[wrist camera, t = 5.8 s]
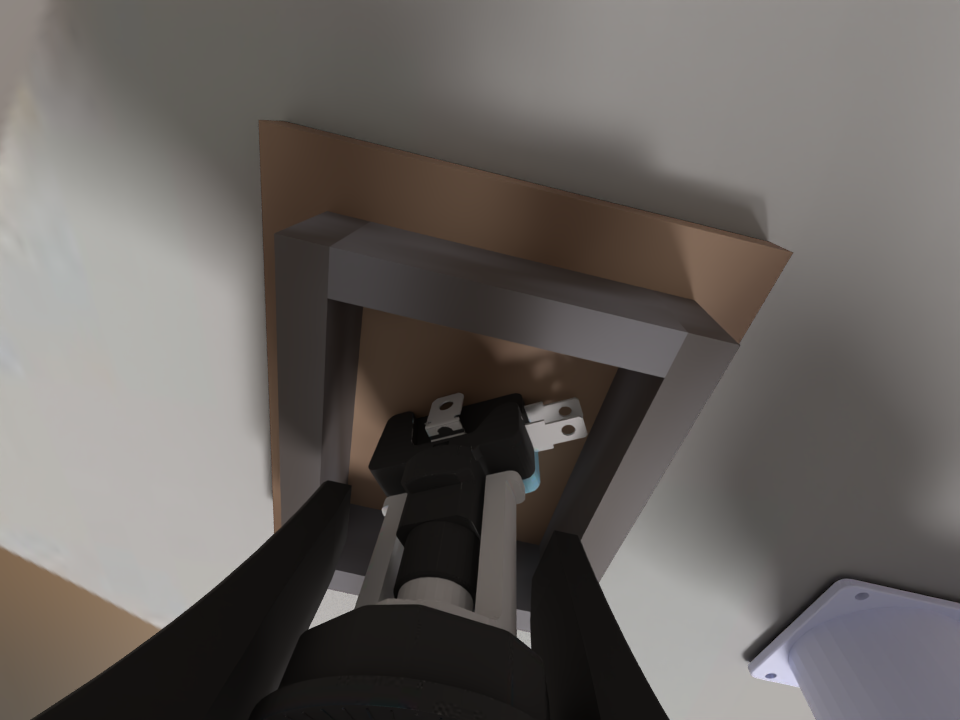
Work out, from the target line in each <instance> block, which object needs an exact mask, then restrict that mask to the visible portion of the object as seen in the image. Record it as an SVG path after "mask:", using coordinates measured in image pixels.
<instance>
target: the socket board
mask: <svg viewBox="0 0 960 720" xmlns="http://www.w3.org/2000/svg"><path fill="white" fill-rule="evenodd" d="M259 144H260V170H261V197H262V223H263V250H264V276H265V303H266V329H267V356H268V382H269V409H270V435H271V461H272V488H273V514H274V534H275V533H276V532H277V531H278V530H279V529H280V528H281V527H282V526H283V525H284V524H285V523H286V522H287V521H288V520H289V519H290V518H291V517H292V516H293V515H294V514H295V513H296V512H297V511H298V510H299V509H300V508H301V506H302V505H303V504H304V503H305V502H306V501H307V500H308V499H309V498H310V497H311V496H312V495H313V493H314V492H315V491H316V490H317V489H318V488H319V487H320V486H321V484H322V483H323V482H325V481H327V480H330V481H334V482H339V483H343V484H348V485H352V489H351V500H350V511H349V522H348V532H347V540H346V542H345V545H344V548H343V551H342V553H341V556H340V559H339V562H338V564H337V567H336V570H335V572H334V575H333V578H332V580H331V582H330V585H329V587H328V589H331V590H335V591H340V592H345V593H349V594H354V595H359V593H360V590H361V587H362V584H363V581H364V578H365V575H366V572H367V569H368V566H369V563H370V560H371V557H372V554H373V551H374V548H375V545H376V542H377V539H378V536H379V533H380V530H381V527H382V524H383V521H384V518H385V516H384V515H383V513H382V507H383V504H384V502H385V499H386V498H387V496H386V495H385V493H384V492H383V490H382V489H381V487H380V485H379V484H378V482H377V481H376V479H375V478H374V476H373V475H372V473H371V472H370V470H369V468H368V465H369V463H370V460H371V458H372V456H373V453H374V451H375V449H376V446H377V444H378V442H379V439H380V437H381V435H382V432H383V430H384V428H385V425H386V423H387V421H388V420H389V419H390V418H391V417H392V416H394V415H397V414H400V413H404V412H408V411H410V412H413V413H414V415H415V417H416V419H417V418H421V417H425V416H429V413H430V409H431V406H432V403H433V402H434V401H435V400H436V399H438V398H441V397H445V396H449V395H452V394H456V393H461V394H463V395H464V400H463V405H462V407H463V406H467V405H471V404H475V403H478V402H482V401H486V400H490V399H494V398H498V397H502V396H505V395H509V394H514V393H518V394H521V395H522V398H523V401H524V403H525V406H526V405H530V404H533V403H537V402H541V401H542V402H543V405H546V404H550V403H554V402H558V401H562V400H566V399H570V398H574V397H576V398H578V399H579V403H580V406H581V409H582V412H583V420H584V424H585V427H586V430H587V433H588V435H587V436H586V437H584V438H579V439H575V440H570V441H566V442H562V443H557V444H553V446H554V448H553V449H548V450H544V451H539V452H538V457H539V472H540V485H539V487H538V488H537V489H536V490H535V491H532V492H530V493H525V500H524V501H523V502H522V503H520V504H516V603H517V630H522V631H526V632H531V631H530V609H531V588H532V577H533V575H534V573H535V571H536V569H537V566H538V564H539V562H540V560H541V558H542V556H543V553H544V551H545V549H546V547H547V545H548V543H549V540H550V538H551V536H552V534H553V532H554V530H556V531H561V532H565V533H570V534H574V535H578V537H579V538H580V540H581V543H582V545H583V547H584V550H585V552H586V555H587V557H588V559H589V562H590V564H591V567H592V569H593V571H594V573H595V576H596V578H597V580H598V583H599V582H600V580H601V578H602V577H603V575H604V573H605V572H606V570H607V568H608V566H609V565H610V563H611V561H612V560H613V558H614V556H615V555H616V553H617V551H618V550H619V548H620V546H621V545H622V543H623V541H624V540H625V538H626V536H627V535H628V533H629V531H630V530H631V528H632V526H633V525H634V523H635V521H636V519H637V518H638V516H639V514H640V513H641V511H642V509H643V508H644V506H645V504H646V503H647V501H648V499H649V498H650V496H651V494H652V493H653V491H654V489H655V488H656V486H657V484H658V483H659V481H660V479H661V478H662V476H663V474H664V473H665V471H666V469H667V467H668V466H669V464H670V462H671V461H672V459H673V457H674V456H675V454H676V452H677V451H678V449H679V447H680V446H681V444H682V442H683V441H684V439H685V437H686V436H687V434H688V432H689V431H690V429H691V427H692V426H693V424H694V422H695V420H696V419H697V417H698V415H699V414H700V412H701V410H702V409H703V407H704V405H705V404H706V402H707V400H708V399H709V397H710V395H711V394H712V392H713V390H714V389H715V387H716V385H717V384H718V382H719V380H720V379H721V377H722V375H723V373H724V372H725V370H726V368H727V367H728V365H729V363H730V362H731V360H732V358H733V357H734V355H735V353H736V352H737V350H738V348H739V347H740V345H739V343H740V341H741V340H742V338H743V336H744V335H745V333H746V331H747V330H748V328H749V326H750V324H751V323H752V321H753V319H754V318H755V316H756V314H757V313H758V311H759V309H760V308H761V306H762V304H763V303H764V301H765V299H766V298H767V296H768V294H769V292H770V291H771V289H772V287H773V286H774V284H775V282H776V281H777V279H778V277H779V276H780V274H781V272H782V271H783V269H784V267H785V265H786V264H787V262H788V260H789V259H790V257H791V255H792V254H793V252H791V251H788V250H786V249H784V248H782V247H780V246H777V245H775V244H773V243H771V242H768V241H764V240H760V239H756V238H752V237H748V236H744V235H740V234H736V233H732V232H728V231H724V230H720V229H716V228H712V227H708V226H704V225H700V224H696V223H691V222H687V221H683V220H679V219H675V218H671V217H667V216H663V215H659V214H655V213H651V212H647V211H643V210H639V209H635V208H631V207H627V206H623V205H619V204H615V203H611V202H607V201H603V200H599V199H595V198H591V197H587V196H583V195H579V194H575V193H571V192H567V191H563V190H559V189H555V188H551V187H547V186H543V185H539V184H534V183H530V182H526V181H522V180H518V179H514V178H510V177H506V176H502V175H498V174H494V173H490V172H486V171H482V170H478V169H474V168H470V167H466V166H462V165H458V164H454V163H450V162H446V161H442V160H438V159H434V158H430V157H426V156H422V155H418V154H414V153H410V152H406V151H402V150H398V149H394V148H390V147H386V146H382V145H378V144H373V143H369V142H365V141H361V140H357V139H353V138H349V137H345V136H341V135H337V134H333V133H329V132H325V131H321V130H317V129H313V128H309V127H305V126H301V125H297V124H293V123H289V122H285V121H271V120H259ZM452 405H453V402H448V403H445V404H444V405H442V406H441V408H440V410H446V409H448V408H450V407H451V406H452ZM571 411H572V410H571V408H570V407H567V406H565V407H561V408H560V409H559V413H560V414H561V415H563V416H566V415H569V414H570V413H571ZM561 431H562V432H563V433H565V434H571V433H573V432H574V431H575V427H574V426H572V425H565V426H563V427H562V429H561ZM474 613H475V611H474Z"/></svg>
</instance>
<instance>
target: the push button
mask: <svg viewBox="0 0 960 720" xmlns="http://www.w3.org/2000/svg"><path fill="white" fill-rule="evenodd" d="M463 400H464V395H463V394H461V393H456V394H452V395H449V396H445V397H441V398H438V399H436V400H435V401H434V402H433V403H432V406H431V409H430V413H429V416H425V417H421V418H417V419H416V417H415V415H414V413H413V412H410V411H408V412H404V413H400V414H397V415H394V416H392V417H391V418H390V419H389V420H388V421H387V423H386V425H385V428H384V430H383V432H382V435H381V437H380V439H379V442H378V444H377V446H376V449H375V451H374V453H373V456H372V458H371V460H370V463H369V465H368V468H369V470H370V472H371V473H372V475H373V476H374V478H375V479H376V481H377V482H378V484H379V485H380V487H381V489H382V490H383V492H384V493H385V495H386V496H387V498H386V499H385V502H384V504H383V507H382V513H383V515H384V516H385V518H384V521H383V524H382V527H381V530H380V533H379V536H378V539H377V542H376V545H375V548H374V551H373V554H372V557H371V560H370V563H369V566H368V569H367V572H366V575H365V578H364V581H363V584H362V587H361V590H360V593H359V596H358V600H357V603H356V606H355V609H354V610H352V611H350V612H347V613H345V614H343V615H341V616H338V617H336V618H334V619H331V620H329V621H327V622H325V623H322V624H320V625H318V626H315V627H313V628H311V629H309V630H306V631H305V632H304V633H303V634H302V635H301V636H300V637H299V639H298V642H297V644H296V646H295V649H294V651H293V654H292V656H291V658H290V661H289V663H288V665H287V668H286V670H285V673H284V675H283V677H282V680H281V682H280V685H279V687H278V689H277V690H276V691H274V692H272V693H270V694H269V695H267V696H266V697H264V698H263V699H261V700H260V701H259V702H258V703H257V704H256V706H255V707H254V709H253V710H252V712H251V714H250V716H249V719H248V720H550V709H549V699H548V691H547V684H546V676H545V669H544V663H543V661H542V659H541V657H540V656H539V655H538V654H537V653H535V652H534V651H533V650H532V649H530V648H529V647H528V646H527V645H525V644H524V643H523V642H522V641H520V640H519V639H518V638H517V603H516V504H520V503H522V502H523V501H524V500H525V493H530V492H532V491H535V490H536V489H537V488H538V487H539V485H540V472H539V457H538V452H539V451H544V450H548V449H553V448H554V446H553V444H557V443H562V442H566V441H570V440H575V439H579V438H584V437H586V436H587V435H588V433H587V430H586V427H585V424H584V420H583V412H582V409H581V406H580V403H579V399H578V398H576V397H574V398H570V399H566V400H562V401H558V402H554V403H550V404H546V405H543V402H542V401H541V402H537V403H533V404H530V405H526V406H525V403H524V401H523V398H522V395H521V394H518V393H514V394H509V395H505V396H502V397H498V398H494V399H490V400H486V401H482V402H478V403H475V404H471V405H467V406H463V407H462V405H463ZM448 402H453V405H452V406H451V407H450V408H448V409H446V410H440V408H441V406H442V405H444V404H445V403H448ZM565 406H567V407H570V408H571V410H572V411H571V413H570V414H569V415H566V416H563V415H561V414H560V413H559V409H560V408H561V407H565ZM565 425H572V426H574V427H575V431H574V432H573V433H571V434H565V433H563V432H562V431H561V429H562V427H563V426H565ZM474 611H475V613H474Z"/></svg>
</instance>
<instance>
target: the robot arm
mask: <svg viewBox="0 0 960 720" xmlns="http://www.w3.org/2000/svg"><path fill="white" fill-rule="evenodd" d="M351 489H352V485H348V484H343V483H339V482H334V481H330V480H327V481H325V482H323V483H322V484H321V486H320V487H319V488H318V489H317V490H316V491H315V492H314V493H313V495H312V496H311V497H310V498H309V499H308V500H307V501H306V502H305V503H304V504H303V505H302V506H301V508H300V509H299V510H298V511H297V512H296V513H295V514H294V515H293V516H292V517H291V518H290V519H289V520H288V521H287V522H286V523H285V524H284V525H283V526H282V527H281V528H280V529H279V530H278V531H277V532H276V533H275V534H273V535H272V536H271V537H270V538H269V539H268V540H267V541H266V542H265V543H264V544H263V545H262V546H261V547H260V548H259V549H258V550H257V551H256V552H255V553H253V554H252V555H251V556H250V557H249V558H248V559H247V560H246V561H245V562H243V563H242V564H241V565H240V566H239V567H238V568H237V569H235V570H234V571H233V572H232V573H231V574H230V575H229V576H227V577H226V578H225V579H224V580H223V581H222V582H221V583H219V584H218V585H217V586H216V587H215V588H213V589H212V590H211V591H210V592H209V593H207V594H206V595H205V596H204V597H203V598H201V599H200V600H199V601H198V602H196V603H195V604H194V605H193V606H191V607H190V608H189V609H188V610H186V611H185V612H184V613H183V614H181V615H180V616H179V617H177V618H176V619H175V620H174V621H172V622H171V623H170V624H168V625H167V626H166V627H164V628H163V629H162V630H160V631H159V632H158V633H156V634H155V635H154V636H152V637H151V638H150V639H148V640H147V641H145V642H144V643H143V644H141V645H140V646H139V647H137V648H136V649H135V650H133V651H132V652H131V653H129V654H128V655H126V656H125V657H124V658H122V659H121V660H119V661H118V662H116V663H115V664H114V665H112V666H111V667H109V668H108V669H107V670H105V671H104V672H103V673H101V674H99V675H98V676H96V677H95V678H93V679H92V680H90V681H89V682H88V683H86V684H84V685H83V686H81V687H80V688H78V689H77V690H75V691H74V692H72V693H71V694H69V695H68V696H66V697H65V698H63V699H62V700H60V701H58V702H57V703H55V704H54V705H52V706H51V707H49V708H48V709H46V710H45V711H43V712H42V713H40V714H39V715H37V716H36V717H34V718H33V719H31V720H248V719H249V716H250V714H251V712H252V710H253V709H254V707H255V706H256V704H257V703H258V702H259V701H260V700H261V699H263V698H264V697H266V696H267V695H269V694H270V693H272V692H274V691H276V690H277V689H278V687H279V685H280V682H281V680H282V677H283V675H284V673H285V670H286V668H287V665H288V663H289V661H290V658H291V656H292V654H293V651H294V649H295V646H296V644H297V642H298V639H299V637H300V636H301V635H302V634H303V633H304V632H305V631H306V630H308V628H309V626H310V624H311V622H312V620H313V618H314V616H315V614H316V612H317V610H318V608H319V606H320V603H321V601H322V599H323V597H324V595H325V593H326V591H327V589H328V587H329V585H330V582H331V580H332V578H333V575H334V572H335V570H336V567H337V564H338V562H339V559H340V556H341V553H342V551H343V548H344V545H345V542H346V540H347V532H348V522H349V511H350V500H351ZM530 631H531V649H532V650H533V651H534V652H535V653H537V654H538V655H539V656H540V657H541V659H542V661H543V663H544V669H545V676H546V684H547V691H548V699H549V709H550V720H669V718H668V716H667V715H666V713H665V711H664V710H663V708H662V706H661V704H660V703H659V701H658V699H657V697H656V696H655V694H654V692H653V690H652V689H651V687H650V685H649V683H648V681H647V680H646V678H645V676H644V674H643V672H642V670H641V668H640V667H639V665H638V663H637V661H636V659H635V657H634V655H633V653H632V652H631V650H630V648H629V646H628V644H627V642H626V640H625V638H624V636H623V634H622V632H621V630H620V628H619V625H618V623H617V621H616V619H615V617H614V615H613V613H612V611H611V609H610V607H609V605H608V603H607V600H606V598H605V596H604V594H603V592H602V589H601V587H600V585H599V583H598V580H597V578H596V576H595V573H594V571H593V569H592V567H591V564H590V562H589V559H588V557H587V555H586V552H585V550H584V547H583V545H582V543H581V540H580V538H579V537H578V535H574V534H570V533H565V532H561V531H556V530H554V532H553V534H552V536H551V538H550V540H549V543H548V545H547V547H546V549H545V551H544V553H543V556H542V558H541V560H540V562H539V564H538V566H537V569H536V571H535V573H534V575H533V577H532V588H531V609H530ZM748 669H749V672H750V674H751V675H752V676H753V677H755V678H758V679H763V680H767V681H772V682H777V683H781V684H786V685H791V686H795V687H800V689H801V691H802V693H803V695H804V697H805V699H806V701H807V703H808V705H809V707H810V709H811V711H812V713H813V715H814V717H815V719H816V720H960V603H956V602H952V601H948V600H943V599H939V598H934V597H930V596H925V595H921V594H916V593H912V592H907V591H903V590H898V589H894V588H890V587H885V586H881V585H876V584H872V583H867V582H863V581H858V580H854V579H841V580H838V581H836V582H835V583H834V584H833V585H832V586H831V587H830V588H829V589H827V590H826V591H825V592H824V593H823V594H822V595H821V596H820V597H819V598H818V599H817V600H816V601H815V602H814V603H813V604H812V605H811V606H809V607H808V608H807V609H806V610H805V611H804V612H803V613H802V614H801V615H800V616H799V617H798V618H797V619H796V620H795V621H794V622H793V623H791V624H790V625H789V626H788V627H787V628H786V629H785V630H784V631H783V632H782V633H781V634H780V635H779V636H778V637H777V638H776V639H775V640H773V641H772V642H771V643H770V644H769V645H768V646H767V647H766V648H765V649H764V650H763V651H762V652H761V653H760V654H759V655H758V656H757V657H755V658H754V659H753V660H752V661H751V662H750V663H749V665H748Z"/></svg>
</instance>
